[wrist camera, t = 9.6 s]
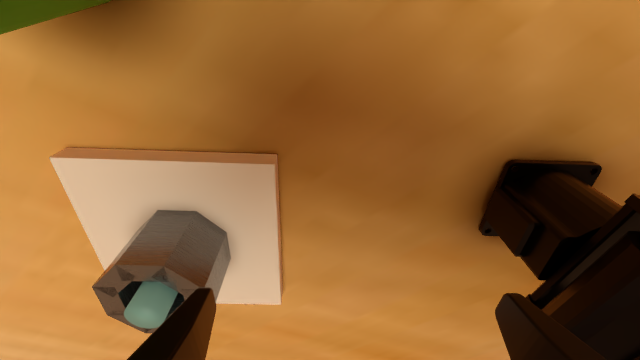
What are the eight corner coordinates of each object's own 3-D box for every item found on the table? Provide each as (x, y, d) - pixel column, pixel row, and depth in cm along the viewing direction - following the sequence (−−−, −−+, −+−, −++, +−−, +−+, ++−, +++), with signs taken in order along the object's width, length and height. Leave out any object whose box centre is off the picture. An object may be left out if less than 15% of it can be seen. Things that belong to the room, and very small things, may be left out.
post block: (277, 154, 20) (257, 225, 13) (282, 290, 27) (271, 379, 20) (66, 147, 19) (-59, 217, 13) (129, 287, 26) (69, 377, 20)
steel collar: (223, 211, 20) (198, 266, 16) (233, 274, 23) (214, 334, 19) (130, 209, 20) (79, 263, 16) (153, 272, 23) (116, 332, 19)
